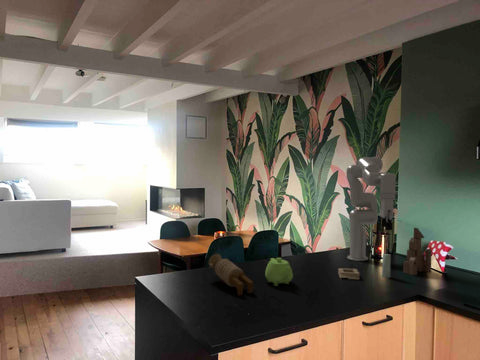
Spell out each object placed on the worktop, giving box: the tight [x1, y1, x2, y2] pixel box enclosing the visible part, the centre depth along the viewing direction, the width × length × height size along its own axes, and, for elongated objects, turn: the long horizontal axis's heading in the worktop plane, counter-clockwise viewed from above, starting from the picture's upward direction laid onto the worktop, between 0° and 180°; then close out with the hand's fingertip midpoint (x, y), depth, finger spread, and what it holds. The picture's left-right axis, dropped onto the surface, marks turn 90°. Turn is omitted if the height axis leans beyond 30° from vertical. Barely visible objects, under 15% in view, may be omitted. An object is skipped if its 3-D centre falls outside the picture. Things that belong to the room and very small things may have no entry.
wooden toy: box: [402, 227, 432, 276], centre depth 222 cm, size 16×7×25 cm, turn 117°
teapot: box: [264, 257, 294, 287], centre depth 201 cm, size 20×13×13 cm
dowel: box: [381, 253, 392, 279], centre depth 213 cm, size 4×4×12 cm
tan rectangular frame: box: [337, 267, 360, 280], centre depth 213 cm, size 10×10×3 cm
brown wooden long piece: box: [208, 253, 254, 297], centre depth 194 cm, size 10×12×30 cm
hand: (386, 228), depth 212 cm, fingers open, 9 cm apart
